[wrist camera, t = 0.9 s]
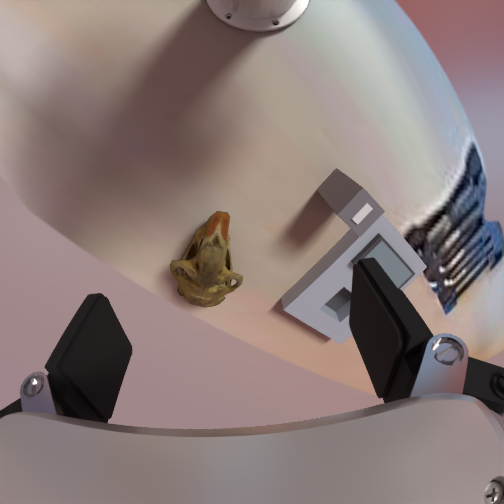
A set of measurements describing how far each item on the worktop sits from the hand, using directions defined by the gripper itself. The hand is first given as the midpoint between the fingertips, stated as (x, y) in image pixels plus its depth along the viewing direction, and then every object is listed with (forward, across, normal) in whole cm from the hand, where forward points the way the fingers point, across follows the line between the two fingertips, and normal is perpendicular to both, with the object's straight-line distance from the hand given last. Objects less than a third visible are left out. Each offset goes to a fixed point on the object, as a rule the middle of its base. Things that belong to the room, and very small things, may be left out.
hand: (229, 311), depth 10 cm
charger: (+28, -13, +5) cm, 31 cm away
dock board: (+28, -16, +20) cm, 37 cm away
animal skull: (+28, +5, +10) cm, 30 cm away
